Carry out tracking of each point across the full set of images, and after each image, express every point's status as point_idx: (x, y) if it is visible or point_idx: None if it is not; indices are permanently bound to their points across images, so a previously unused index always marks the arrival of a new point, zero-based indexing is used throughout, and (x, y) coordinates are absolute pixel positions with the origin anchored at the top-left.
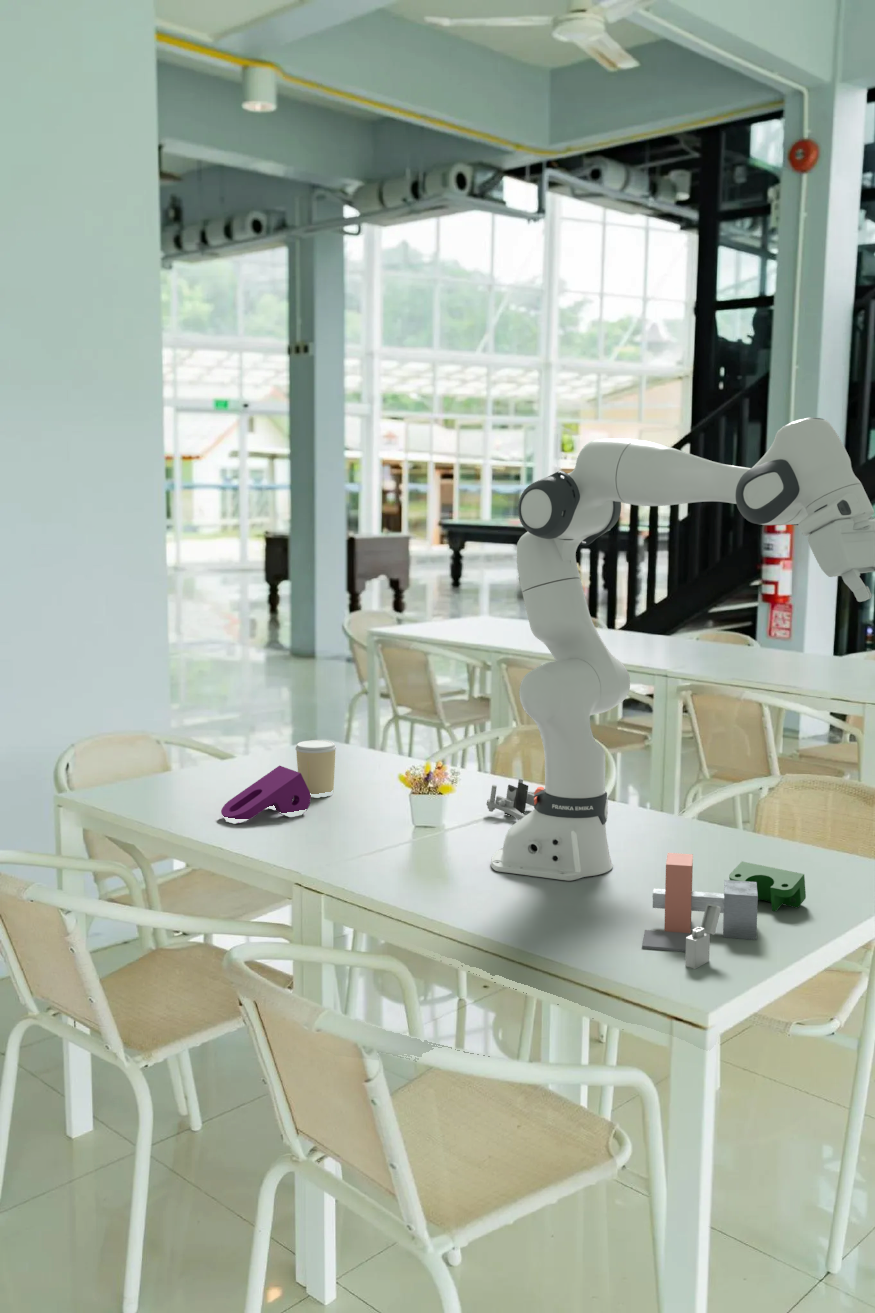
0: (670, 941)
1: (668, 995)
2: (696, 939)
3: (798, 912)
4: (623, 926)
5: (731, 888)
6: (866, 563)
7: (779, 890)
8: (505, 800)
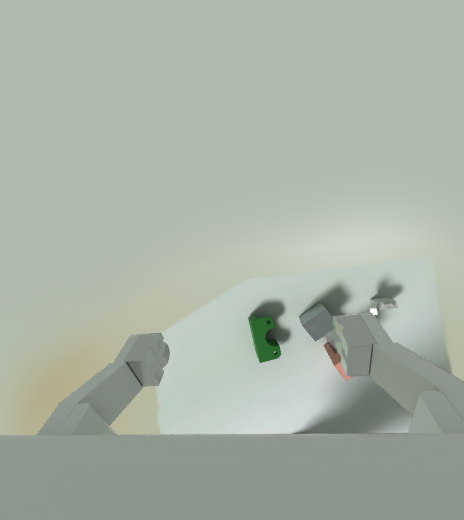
0: None
1: (433, 282)
2: (394, 301)
3: (261, 312)
4: None
5: (326, 328)
6: (365, 444)
7: (273, 322)
8: None
